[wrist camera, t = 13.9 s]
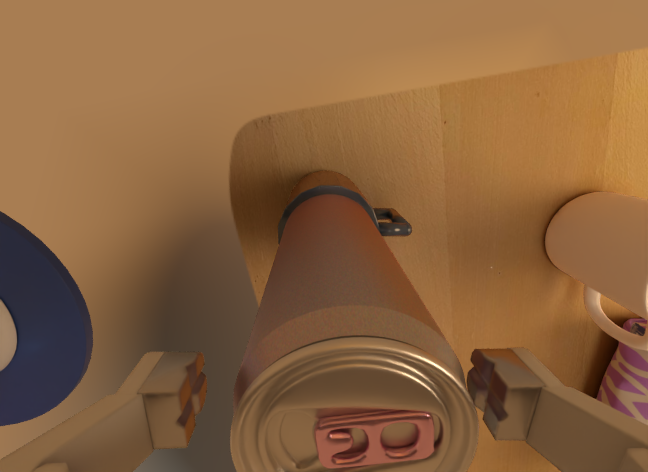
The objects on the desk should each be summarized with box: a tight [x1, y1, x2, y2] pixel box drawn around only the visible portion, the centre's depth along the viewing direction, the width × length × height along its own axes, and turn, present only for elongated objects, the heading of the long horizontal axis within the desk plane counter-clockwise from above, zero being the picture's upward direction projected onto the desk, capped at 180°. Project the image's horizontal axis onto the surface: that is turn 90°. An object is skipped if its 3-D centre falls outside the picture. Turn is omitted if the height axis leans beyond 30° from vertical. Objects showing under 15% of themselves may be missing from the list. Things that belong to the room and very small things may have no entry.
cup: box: [545, 192, 648, 351], centre depth 26 cm, size 8×12×10 cm
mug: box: [278, 170, 412, 244], centre depth 25 cm, size 10×7×8 cm
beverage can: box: [230, 194, 479, 472], centre depth 14 cm, size 6×6×15 cm
